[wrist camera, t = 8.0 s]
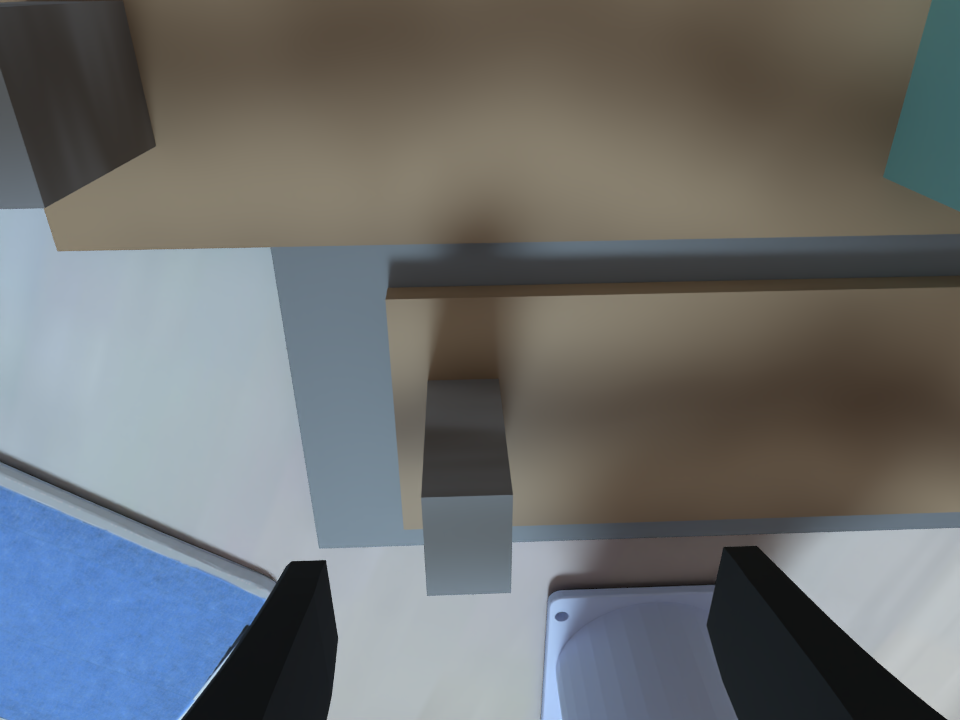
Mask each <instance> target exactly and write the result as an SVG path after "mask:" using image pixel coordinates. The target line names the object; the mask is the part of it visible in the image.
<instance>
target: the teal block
mask: <svg viewBox="0 0 960 720" xmlns="http://www.w3.org/2000/svg"><path fill="white" fill-rule="evenodd" d="M883 177H884V178H886V179H888V180H890V181H892V182H895V183H897V184H899V185H901V186H904V187H906V188H908V189H910V190H913V191H915V192H917V193H919V194H921V195H924V196H926V197H928V198H930V199H933V200H935V201H937V202H939V203H941V204H944V205H946V206H948V207H950V208H953V209H955V210H957V211H959V212H960V0H932V2H931V5H930V9H929V12H928V16H927V20H926V23H925V27H924V31H923V34H922V38H921V41H920V45H919V49H918V52H917V56H916V60H915V63H914V67H913V70H912V74H911V78H910V81H909V85H908V88H907V92H906V96H905V99H904V103H903V107H902V110H901V114H900V117H899V121H898V125H897V128H896V132H895V136H894V139H893V143H892V146H891V150H890V154H889V157H888V161H887V165H886V168H885V172H884V175H883Z"/></svg>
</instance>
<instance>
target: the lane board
mask: <svg viewBox="0 0 960 720" xmlns="http://www.w3.org/2000/svg"><path fill="white" fill-rule="evenodd" d="M271 253H272V259H273V265H274V271H275V278H276V284H277V290H278V296H279V302H280V309H281V315H282V321H283V327H284V333H285V340H286V346H287V352H288V358H289V364H290V371H291V377H292V383H293V389H294V395H295V401H296V408H297V414H298V420H299V426H300V432H301V439H302V445H303V451H304V457H305V463H306V470H307V476H308V482H309V488H310V494H311V501H312V507H313V513H314V519H315V525H316V532H317V538H318V544H319V548H350V547H381V546H411V545H424V537H423V529H412V530H404V527H403V514H402V502H401V489H400V477H399V464H398V452H397V439H396V427H395V414H394V402H393V389H392V377H391V364H390V352H389V339H388V326H387V314H386V301H385V299H386V294H387V289H388V288H399V287H447V286H494V285H542V284H589V283H637V282H684V281H731V280H779V279H826V278H874V277H921V276H960V234H929V235H877V236H825V237H772V238H720V239H668V240H616V241H564V242H512V243H459V244H407V245H355V246H303V247H271ZM933 528H960V512H945V513H913V514H882V515H851V516H819V517H788V518H757V519H725V520H694V521H663V522H631V523H600V524H568V525H537V526H512V542H534V541H565V540H595V539H626V538H657V537H687V536H718V535H749V534H779V533H810V532H841V531H871V530H902V529H933Z"/></svg>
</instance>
